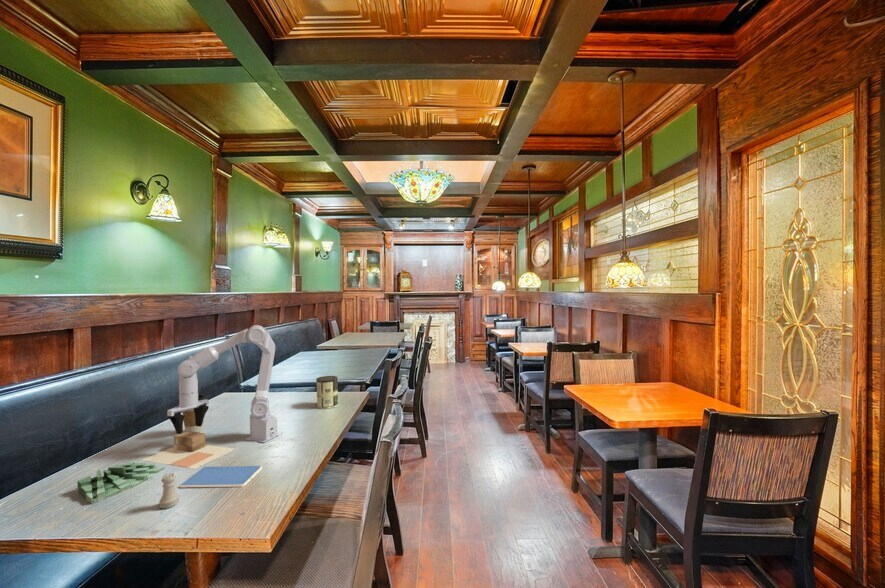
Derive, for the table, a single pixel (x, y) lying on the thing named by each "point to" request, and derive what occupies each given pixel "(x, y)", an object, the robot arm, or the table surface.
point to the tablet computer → (222, 476)
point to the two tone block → (189, 441)
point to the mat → (188, 456)
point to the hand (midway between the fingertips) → (189, 429)
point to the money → (115, 480)
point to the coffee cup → (192, 419)
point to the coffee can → (327, 392)
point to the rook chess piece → (168, 492)
